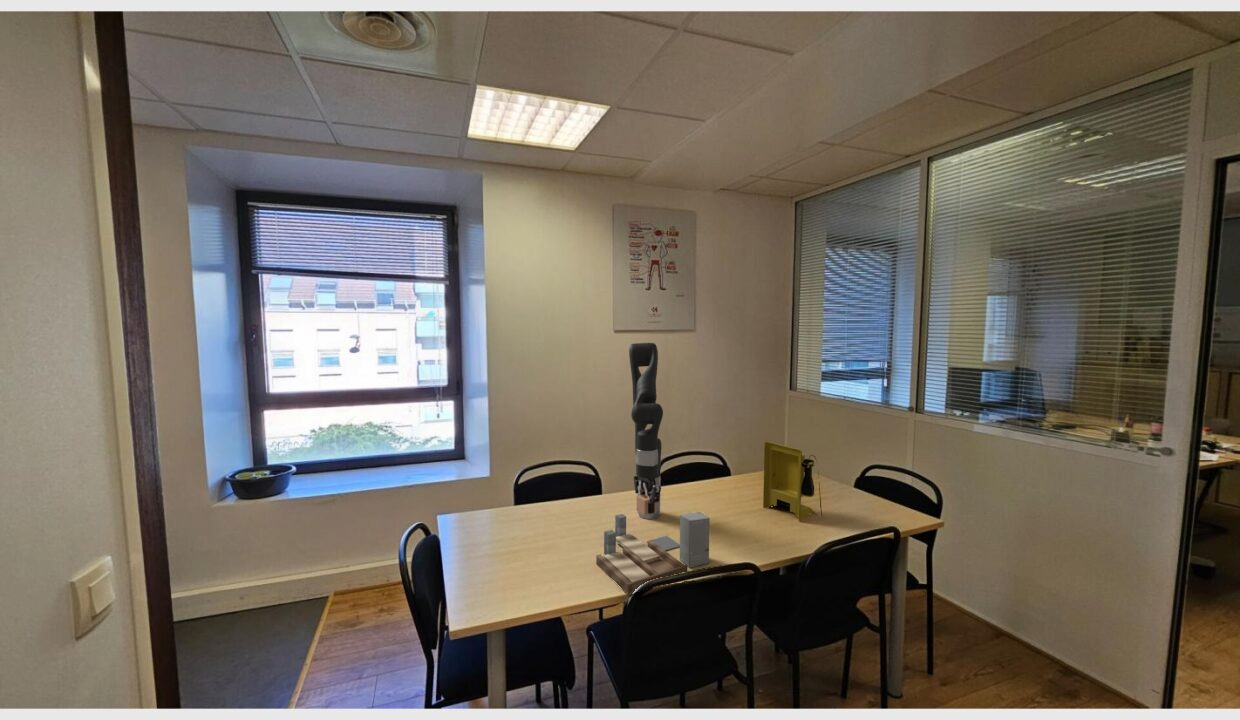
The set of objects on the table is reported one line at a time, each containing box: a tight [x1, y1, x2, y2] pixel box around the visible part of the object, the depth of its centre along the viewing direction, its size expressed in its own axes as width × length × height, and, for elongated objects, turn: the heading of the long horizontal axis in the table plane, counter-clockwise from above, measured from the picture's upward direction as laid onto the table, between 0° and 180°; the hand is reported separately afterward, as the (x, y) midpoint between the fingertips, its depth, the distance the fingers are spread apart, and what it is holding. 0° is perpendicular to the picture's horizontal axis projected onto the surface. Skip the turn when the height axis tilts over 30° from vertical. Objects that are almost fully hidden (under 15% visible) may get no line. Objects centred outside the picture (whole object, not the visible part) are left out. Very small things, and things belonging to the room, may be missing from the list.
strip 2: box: [603, 529, 649, 582], centre depth 148 cm, size 22×6×8 cm, turn 30°
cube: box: [636, 494, 657, 515], centre depth 156 cm, size 5×5×5 cm
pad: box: [646, 535, 680, 552], centre depth 167 cm, size 9×9×1 cm
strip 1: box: [614, 513, 660, 563], centre depth 162 cm, size 22×6×8 cm, turn 30°
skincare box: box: [679, 511, 710, 568], centre depth 155 cm, size 8×7×16 cm
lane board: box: [595, 540, 688, 596], centre depth 149 cm, size 21×22×3 cm
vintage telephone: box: [762, 441, 823, 522], centre depth 196 cm, size 31×14×30 cm, turn 34°
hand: (646, 510), depth 156 cm, fingers closed on cube, 5 cm apart
